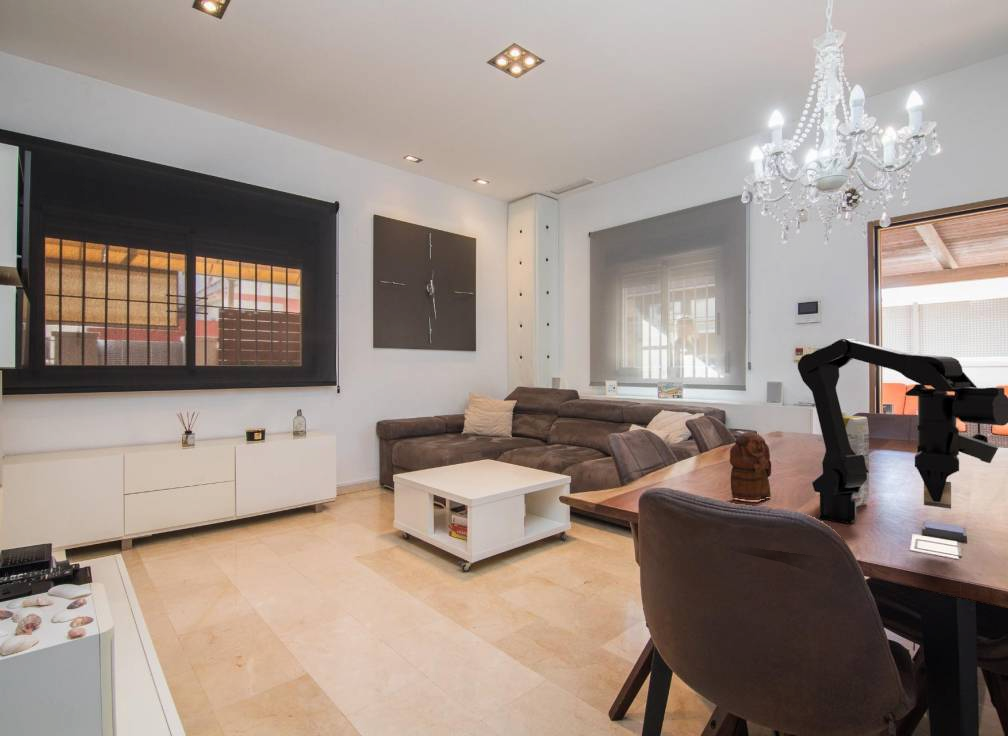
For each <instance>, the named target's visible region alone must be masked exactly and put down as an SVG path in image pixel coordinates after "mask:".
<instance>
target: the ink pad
mask: <svg viewBox="0 0 1008 736" xmlns="http://www.w3.org/2000/svg"><path fill="white" fill-rule="evenodd" d="M921 525H922V527H921V536H927V537H933V538H939V539H945V540H951V541H957V542H958V541H959V542H964V543H966V542H968V534H967V527H963V525H959V524H953V523H946V522H940V521H932V520H923V521H922V524H921Z"/></svg>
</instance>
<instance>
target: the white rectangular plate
mask: <svg viewBox="0 0 1008 736" xmlns="http://www.w3.org/2000/svg"><path fill="white" fill-rule="evenodd" d="M909 551H910V552H911V551H912V552H916V553H922V554H928V555H932V556H939V557H943V558H949V559H954V560H959V559H960V558H961V557H962V550H961V546H959V545H958V540H952V539H946V538H940V537H934V536H928V535H922V534H915V533H912V537H911V542H910V549H909Z"/></svg>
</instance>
